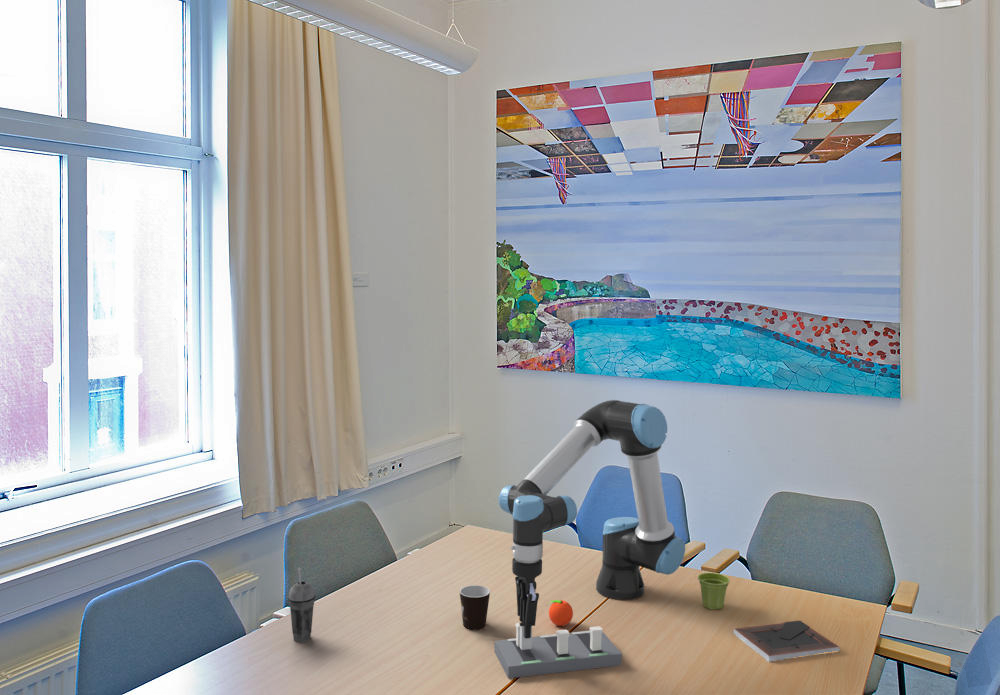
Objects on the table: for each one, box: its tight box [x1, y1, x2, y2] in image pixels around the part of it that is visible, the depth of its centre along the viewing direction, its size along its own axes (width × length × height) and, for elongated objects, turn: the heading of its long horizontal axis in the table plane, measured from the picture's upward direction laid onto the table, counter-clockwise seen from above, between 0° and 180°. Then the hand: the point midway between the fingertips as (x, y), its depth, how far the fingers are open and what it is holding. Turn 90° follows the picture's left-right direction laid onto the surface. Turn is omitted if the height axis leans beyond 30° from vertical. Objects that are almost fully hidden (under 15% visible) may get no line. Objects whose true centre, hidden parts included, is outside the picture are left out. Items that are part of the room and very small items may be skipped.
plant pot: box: [697, 572, 731, 611], centre depth 236 cm, size 9×9×9 cm
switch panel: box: [493, 630, 623, 679], centre depth 201 cm, size 30×14×3 cm, turn 105°
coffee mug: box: [459, 584, 491, 631], centre depth 221 cm, size 12×9×10 cm
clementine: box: [547, 599, 574, 627], centre depth 221 cm, size 8×7×7 cm
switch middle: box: [555, 629, 570, 655], centre depth 197 cm, size 3×2×6 cm
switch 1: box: [515, 622, 521, 647], centre depth 201 cm, size 3×2×6 cm
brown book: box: [733, 620, 840, 663], centre depth 212 cm, size 16×2×22 cm
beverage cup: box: [287, 567, 316, 643], centre depth 210 cm, size 7×7×20 cm
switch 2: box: [588, 625, 604, 651], centre depth 199 cm, size 3×2×6 cm
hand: (525, 648), depth 198 cm, fingers closed
